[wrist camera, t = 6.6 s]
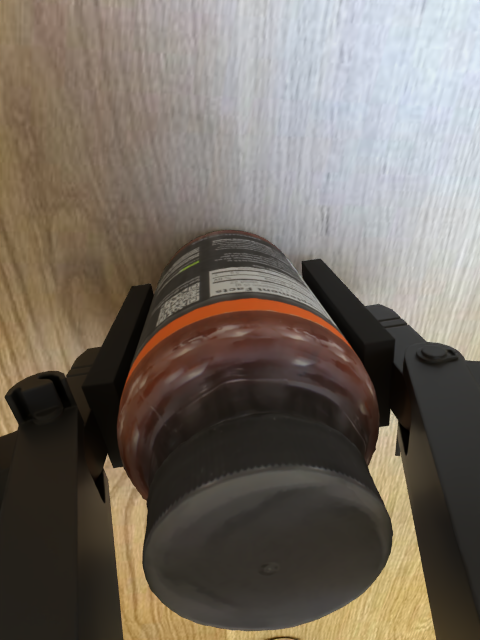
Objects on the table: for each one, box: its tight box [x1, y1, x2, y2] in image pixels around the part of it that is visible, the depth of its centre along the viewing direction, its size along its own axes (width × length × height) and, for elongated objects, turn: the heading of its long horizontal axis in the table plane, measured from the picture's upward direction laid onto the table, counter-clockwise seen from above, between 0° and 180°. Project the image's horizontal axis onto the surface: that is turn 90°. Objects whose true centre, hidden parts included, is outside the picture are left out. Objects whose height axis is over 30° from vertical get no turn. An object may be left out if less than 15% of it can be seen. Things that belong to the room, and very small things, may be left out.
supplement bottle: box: [117, 230, 393, 631], centre depth 11 cm, size 6×6×11 cm
